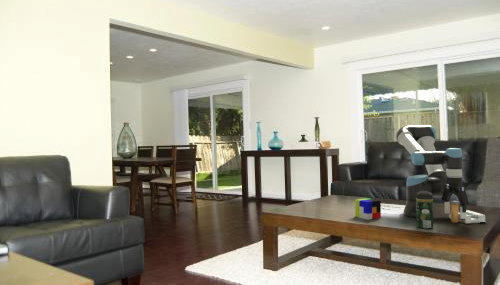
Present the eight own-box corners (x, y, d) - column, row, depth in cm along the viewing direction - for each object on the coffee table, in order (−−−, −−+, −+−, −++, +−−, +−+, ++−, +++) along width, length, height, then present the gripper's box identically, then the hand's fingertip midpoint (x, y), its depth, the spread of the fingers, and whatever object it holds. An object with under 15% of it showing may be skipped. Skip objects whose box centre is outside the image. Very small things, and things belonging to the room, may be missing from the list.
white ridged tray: (465, 223, 208) (465, 215, 208) (449, 218, 222) (449, 210, 222) (485, 222, 209) (485, 215, 209) (467, 217, 223) (467, 210, 223)
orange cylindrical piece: (453, 222, 210) (453, 202, 210) (448, 221, 214) (448, 200, 214) (461, 222, 211) (461, 201, 210) (456, 220, 215) (455, 200, 215)
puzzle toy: (367, 219, 222) (367, 202, 222) (355, 216, 231) (355, 199, 231) (380, 217, 227) (380, 200, 226) (368, 214, 235) (367, 198, 235)
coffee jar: (416, 224, 208) (416, 189, 208) (433, 225, 205) (432, 190, 205) (416, 228, 199) (416, 192, 199) (433, 229, 196) (433, 192, 196)
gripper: (476, 178, 200) (477, 220, 200) (446, 174, 225) (447, 211, 225) (463, 179, 199) (463, 221, 199) (434, 174, 224) (434, 212, 224)
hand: (454, 216), depth 212 cm, fingers open, 13 cm apart
